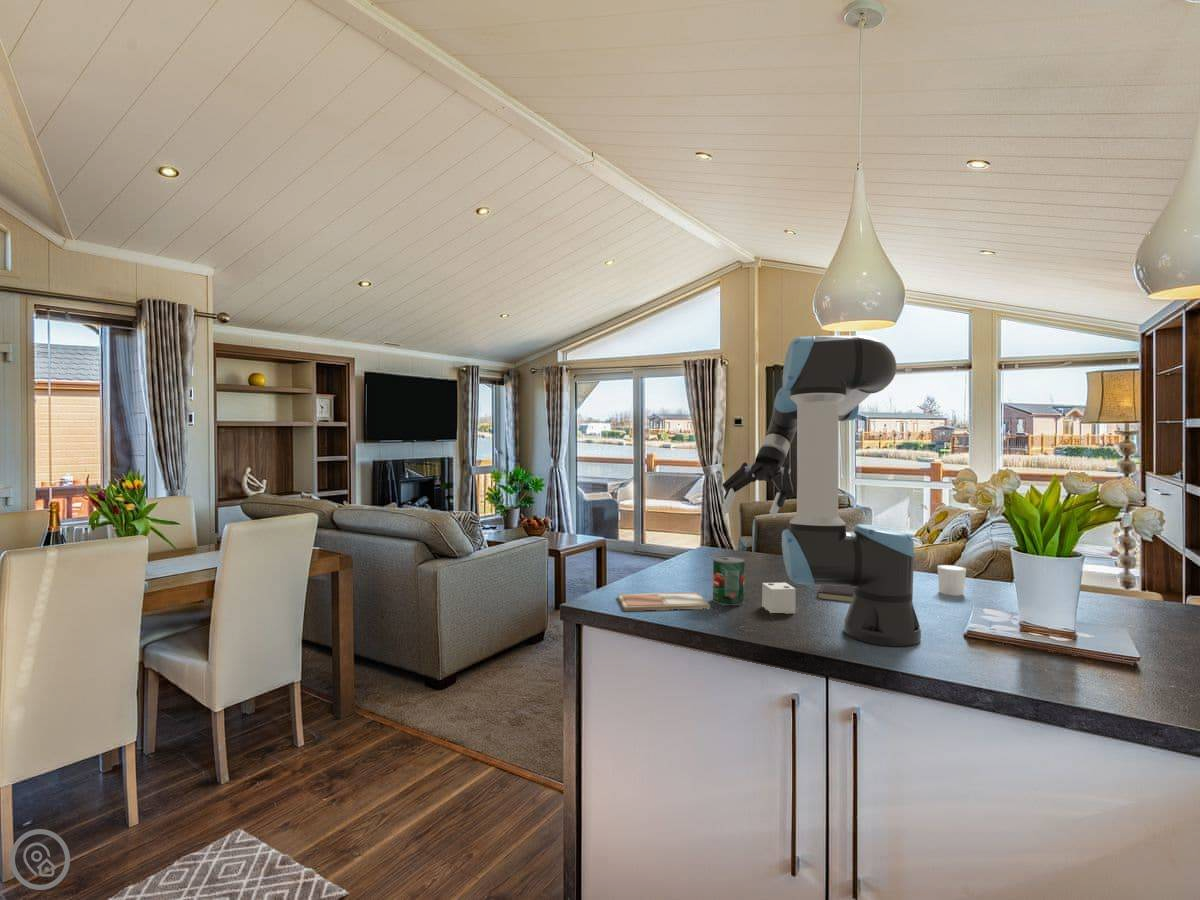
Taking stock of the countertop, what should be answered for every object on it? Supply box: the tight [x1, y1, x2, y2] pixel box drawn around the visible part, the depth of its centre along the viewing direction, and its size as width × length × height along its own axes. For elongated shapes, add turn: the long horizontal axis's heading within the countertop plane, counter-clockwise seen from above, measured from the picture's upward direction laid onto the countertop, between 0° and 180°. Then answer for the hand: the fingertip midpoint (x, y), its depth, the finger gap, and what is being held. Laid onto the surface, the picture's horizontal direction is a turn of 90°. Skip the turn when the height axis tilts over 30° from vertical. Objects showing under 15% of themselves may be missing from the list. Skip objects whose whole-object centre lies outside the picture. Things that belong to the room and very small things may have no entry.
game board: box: [617, 591, 711, 612], centre depth 161 cm, size 12×21×1 cm, turn 96°
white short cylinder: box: [937, 564, 967, 597], centre depth 173 cm, size 7×7×7 cm
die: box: [761, 582, 797, 614], centre depth 156 cm, size 6×6×6 cm
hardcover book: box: [816, 585, 854, 603], centre depth 174 cm, size 16×23×2 cm
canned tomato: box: [712, 555, 746, 606], centre depth 163 cm, size 8×8×11 cm
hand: (748, 512), depth 171 cm, fingers open, 13 cm apart
